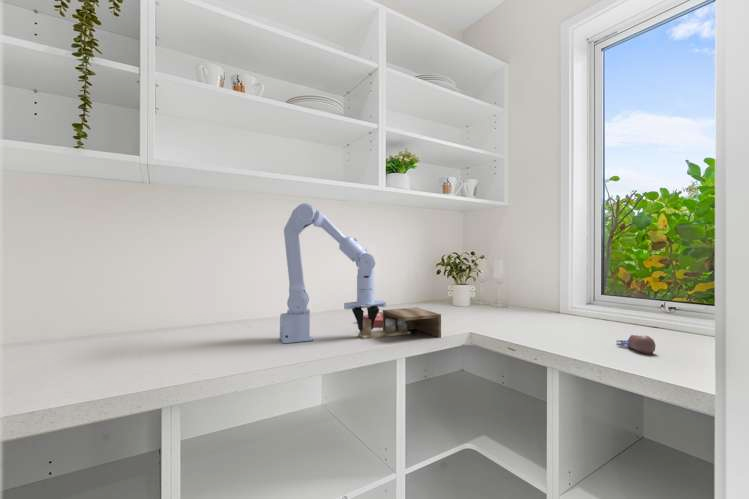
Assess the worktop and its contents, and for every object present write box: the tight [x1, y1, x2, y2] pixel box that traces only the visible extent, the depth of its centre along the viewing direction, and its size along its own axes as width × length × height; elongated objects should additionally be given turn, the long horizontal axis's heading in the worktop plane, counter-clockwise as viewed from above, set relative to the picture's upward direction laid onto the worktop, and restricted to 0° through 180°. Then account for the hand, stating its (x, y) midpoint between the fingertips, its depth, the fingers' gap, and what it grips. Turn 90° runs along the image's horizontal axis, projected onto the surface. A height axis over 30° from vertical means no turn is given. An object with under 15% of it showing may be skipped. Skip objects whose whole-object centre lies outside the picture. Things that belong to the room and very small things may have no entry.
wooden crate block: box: [382, 307, 442, 339], centre depth 117 cm, size 14×16×8 cm
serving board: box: [358, 318, 412, 340], centre depth 117 cm, size 18×5×6 cm, turn 114°
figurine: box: [616, 334, 656, 355], centre depth 99 cm, size 5×5×12 cm
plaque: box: [363, 311, 383, 329], centre depth 137 cm, size 18×4×15 cm
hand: (365, 329), depth 114 cm, fingers closed on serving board, 3 cm apart
